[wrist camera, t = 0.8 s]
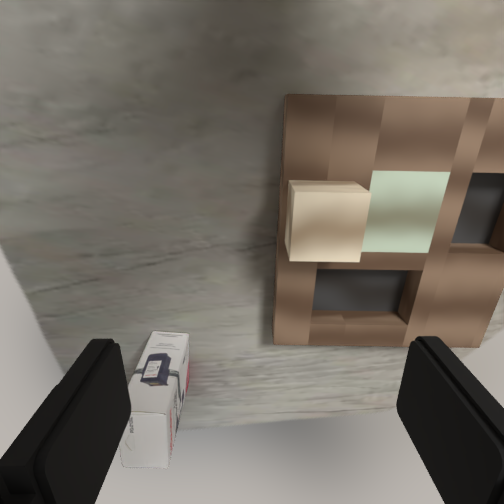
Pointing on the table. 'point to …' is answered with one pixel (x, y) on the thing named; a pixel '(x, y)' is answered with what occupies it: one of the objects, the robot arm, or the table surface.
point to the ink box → (156, 401)
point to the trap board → (397, 220)
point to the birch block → (326, 220)
